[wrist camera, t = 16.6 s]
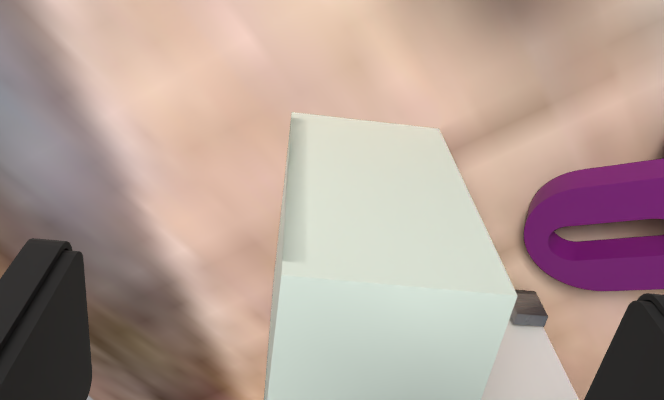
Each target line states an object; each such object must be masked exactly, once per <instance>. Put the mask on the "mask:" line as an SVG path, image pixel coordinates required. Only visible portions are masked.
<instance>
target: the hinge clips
mask: <svg viewBox="0 0 664 400" xmlns="http://www.w3.org/2000/svg"><path fill="white" fill-rule="evenodd" d="M515 291H516V293H517V299H516V302H515V305H514V307H513V310H512V313H511V316H510V317H511V319H512V321H513V324H518V325H530V326H542V327H544V325H545V323H546V320H547V318H548V315H547V313H546V312H545V310H544V308H543V306H542V304H541V302H540V300H539V298H538V296H537V294H536V292H534V291H523V290H515Z"/></svg>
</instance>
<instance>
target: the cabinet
mask: <svg viewBox="0 0 664 400" xmlns="http://www.w3.org/2000/svg"><path fill="white" fill-rule="evenodd" d="M516 299H517V293H516V291H515V289H514V287H513V285H512V283H511V281H510V279H509V276H508V274H507V272H506V270H505V268H504V266H503V264H502V262H501V259H500V257H499V255H498V253H497V251H496V249H495V247H494V245H493V242H492V240H491V238H490V236H489V234H488V232H487V230H486V228H485V225H484V223H483V221H482V219H481V217H480V215H479V213H478V211H477V208H476V206H475V204H474V202H473V200H472V198H471V196H470V194H469V191H468V189H467V187H466V185H465V183H464V181H463V179H462V176H461V174H460V172H459V170H458V168H457V166H456V164H455V162H454V159H453V157H452V155H451V153H450V151H449V149H448V147H447V145H446V142H445V140H444V138H443V136H442V134H441V132H440V130H439V129H438V128H429V127H421V126H412V125H403V124H394V123H385V122H376V121H367V120H358V119H350V118H341V117H332V116H323V115H314V114H305V113H296V112H292V114H291V123H290V133H289V142H288V151H287V160H286V170H285V179H284V188H283V198H282V207H281V216H280V225H279V235H278V244H277V253H276V263H275V272H274V281H273V294H272V306H271V318H270V331H269V343H268V356H267V368H266V380H265V393H264V400H481V398H482V395H483V392H484V389H485V387H486V384H487V381H488V378H489V375H490V372H491V370H492V367H493V364H494V361H495V358H496V355H497V353H498V350H499V347H500V344H501V341H502V339H503V336H504V333H505V330H506V327H507V324H508V322H509V319H510V316H511V313H512V310H513V307H514V305H515V302H516Z"/></svg>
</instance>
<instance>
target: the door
mask: <svg viewBox="0 0 664 400" xmlns="http://www.w3.org/2000/svg"><path fill="white" fill-rule="evenodd" d="M481 400H579V399H578V397H577V395H576V393H575V391H574V389H573V387H572V385H571V383H570V381H569V379H568V377H567V375H566V373H565V371H564V368H563V366H562V364H561V362H560V360H559V358H558V356H557V354H556V352H555V350H554V348H553V346H552V344H551V342H550V340H549V338H548V336H547V334H546V332H545V330H544V328H543V327H542V326H530V325H518V324H513V321H512V319H511V317H510V319H509V322H508V324H507V327H506V330H505V333H504V336H503V339H502V341H501V344H500V347H499V350H498V353H497V355H496V358H495V361H494V364H493V367H492V370H491V372H490V375H489V378H488V381H487V384H486V387H485V389H484V392H483V395H482V398H481Z"/></svg>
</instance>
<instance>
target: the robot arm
mask: <svg viewBox="0 0 664 400" xmlns="http://www.w3.org/2000/svg"><path fill="white" fill-rule="evenodd" d="M91 381H92V365H91V352H90V339H89V326H88V314H87V301H86V288H85V275H84V263H83V255H82V253H81V252H79V251H72V247H71V245H70V243H69V242H67V241H57V240H46V239H34V238H33V239H29V240H28V241H27V243H26V244H25V245H24V247H23V248H22V249H21V251H20V252H19V254H18V255H17V256H16V258H15V259H14V260H13V262H12V263H11V265H10V266H9V267H8V269H7V270H6V272H5V273H4V274H3V276H2V277H1V279H0V400H86V399H87V397H88V394H89V391H90V387H91ZM584 400H664V295H660V294H649V293H647V294H643V295H642V296H640V297H639V298H638V300H637V301H633V302H631V303H630V304H629V306H628V308H627V310H626V312H625V314H624V316H623V318H622V320H621V322H620V325H619V327H618V329H617V331H616V333H615V335H614V337H613V339H612V342H611V344H610V346H609V348H608V350H607V352H606V354H605V357H604V359H603V361H602V363H601V365H600V367H599V369H598V371H597V374H596V376H595V378H594V380H593V382H592V384H591V386H590V388H589V391H588V393H587V395H586V397H585V399H584Z"/></svg>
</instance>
